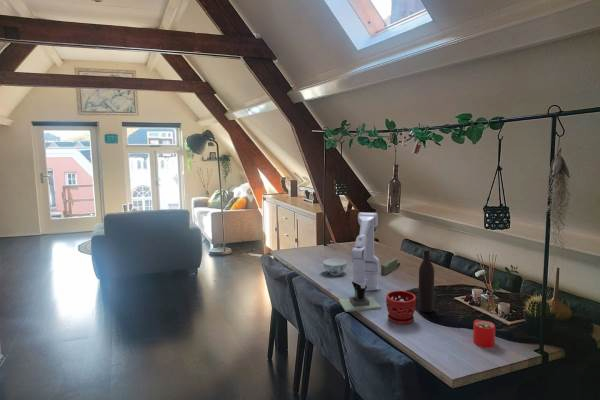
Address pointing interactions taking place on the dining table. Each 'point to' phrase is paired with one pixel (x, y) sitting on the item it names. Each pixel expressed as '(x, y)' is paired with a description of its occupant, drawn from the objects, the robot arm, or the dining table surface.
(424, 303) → the wine bottle
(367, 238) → the robot arm
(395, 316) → the plant pot
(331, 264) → the chinaware
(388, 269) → the handheld radio
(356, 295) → the connector plug
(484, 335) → the red cylinder
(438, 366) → the dining table surface
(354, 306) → the end holder
